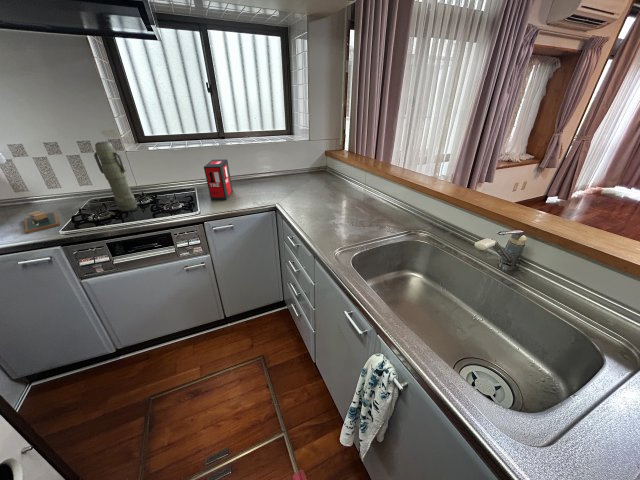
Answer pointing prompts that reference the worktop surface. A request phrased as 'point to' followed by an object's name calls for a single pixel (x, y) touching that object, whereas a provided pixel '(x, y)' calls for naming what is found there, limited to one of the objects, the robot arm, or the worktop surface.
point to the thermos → (115, 175)
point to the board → (34, 226)
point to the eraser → (38, 217)
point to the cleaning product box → (218, 179)
